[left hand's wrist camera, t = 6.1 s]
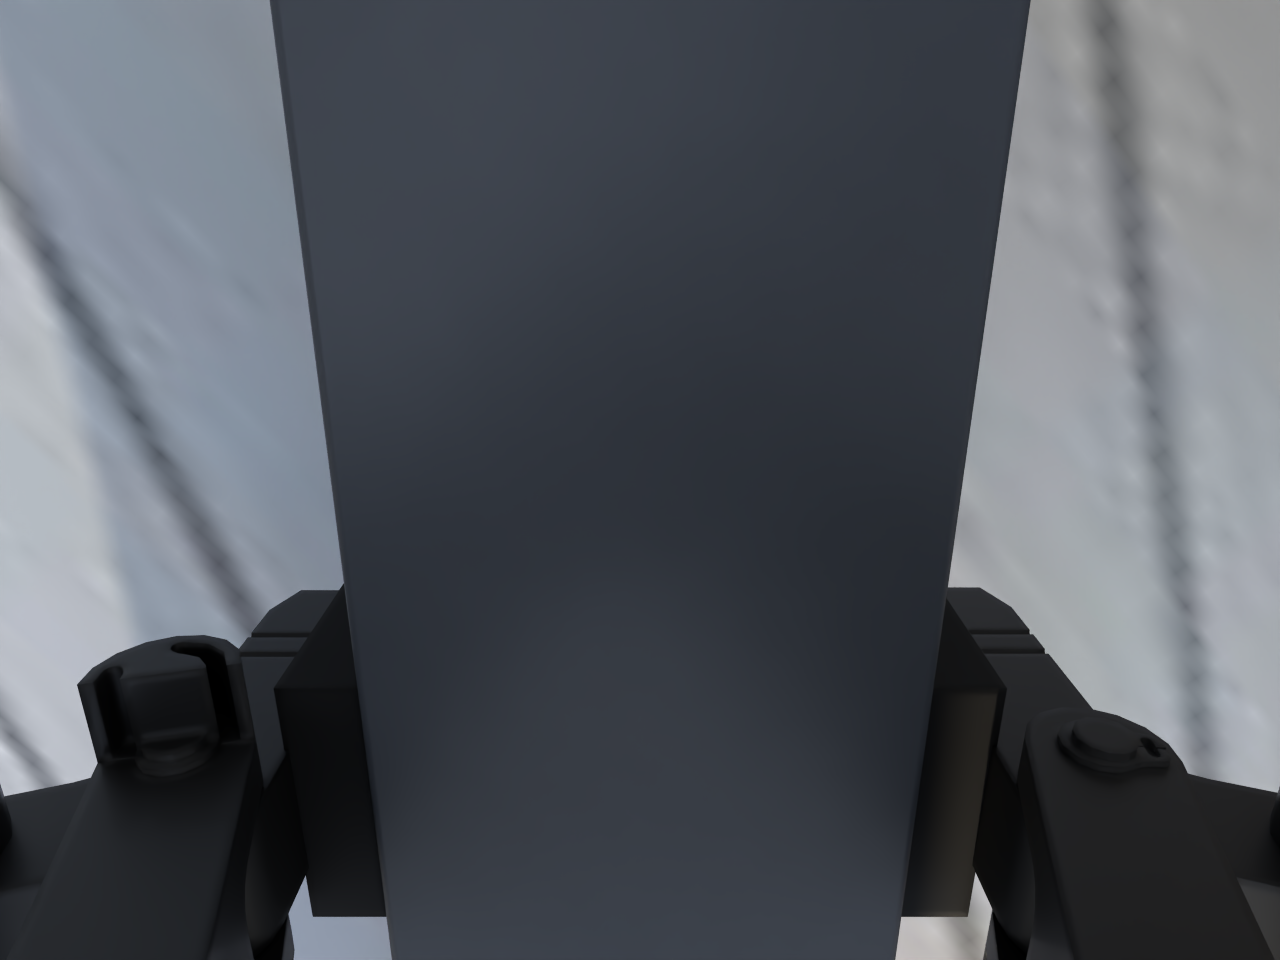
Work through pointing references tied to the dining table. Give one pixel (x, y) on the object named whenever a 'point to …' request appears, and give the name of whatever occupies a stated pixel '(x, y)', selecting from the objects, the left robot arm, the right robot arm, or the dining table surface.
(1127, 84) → the dining table surface
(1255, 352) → the dining table surface
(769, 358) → the beam
